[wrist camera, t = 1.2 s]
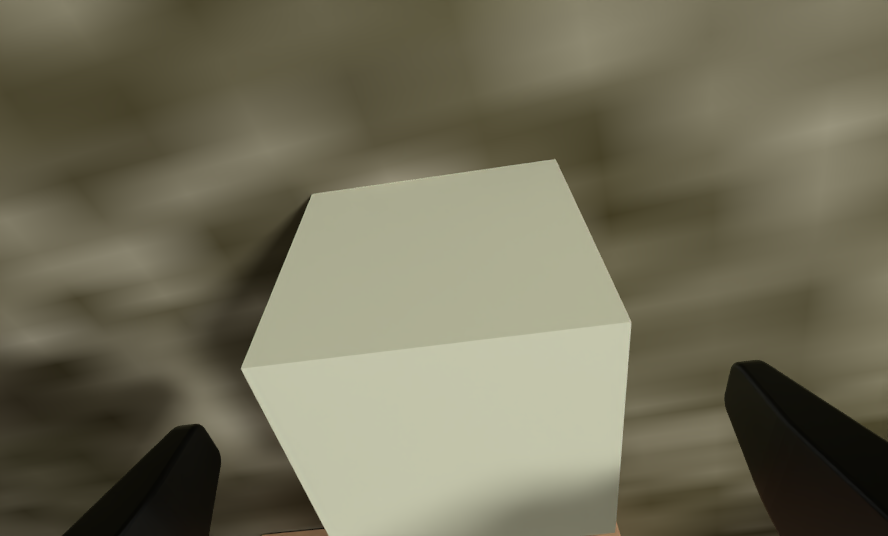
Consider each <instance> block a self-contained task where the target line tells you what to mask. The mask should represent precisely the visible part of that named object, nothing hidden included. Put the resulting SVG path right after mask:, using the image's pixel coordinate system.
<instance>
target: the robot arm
mask: <svg viewBox="0 0 888 536" xmlns="http://www.w3.org/2000/svg"><path fill="white" fill-rule="evenodd" d="M724 401H725V407H726V410H727V413H728V415H729V418H730V421H731V423H732V426H733V428H734V431H735V434H736V436H737V439H738V441H739V444H740V447H741V449H742V452H743V454H744V457H745V460H746V462H747V465H748V467H749V470H750V473H751V475H752V478H753V480H754V483H755V485H756V488H757V490H758V493H759V495H760V497H761V500H762V502H763V504H764V506H765V508H766V510H767V512H768V514H769V516H770V518H771V520H772V522H773V524H774V526H775V528H776V530H777V532H778V534H779V536H888V442H887V441H886V440H884V439H883V438H881V437H880V436H878V435H876V434H875V433H873V432H872V431H870V430H869V429H867V428H866V427H864V426H863V425H861V424H860V423H858V422H856V421H855V420H853V419H852V418H850V417H849V416H847V415H846V414H844V413H843V412H841V411H839V410H838V409H836V408H835V407H833V406H832V405H830V404H829V403H827V402H826V401H824V400H823V399H821V398H819V397H818V396H816V395H815V394H813V393H812V392H810V391H809V390H807V389H806V388H804V387H803V386H801V385H799V384H798V383H796V382H795V381H793V380H792V379H790V378H789V377H787V376H786V375H784V374H782V373H781V372H779V371H778V370H776V369H775V368H773V367H772V366H770V365H769V364H767V363H765V362H763V361H760V360H751V361H743V362H736V363H734V364H733V366H732V367H731V370H730V374H729V379H728V383H727V387H726V391H725V397H724ZM220 467H221V456H220V453H219V450H218V448H217V447H216V445H215V444H214V442H213V441H212V439H211V438H210V436H209V434H208V433H207V431H206V430H205V428H204V427H203V426H202V425H200V424H190V425H182V426H178V427H175V428H174V429H172V430H171V431H170V432H169V433H168V434H167V435H166V436H165V437H164V438H163V439H162V440H161V441H160V442H159V443H158V444H157V445H156V446H155V447H154V448H153V449H151V450H150V451H149V452H148V453H147V454H146V455H145V456H144V457H143V458H142V459H141V460H140V461H139V462H138V463H137V464H136V465H135V466H134V467H133V468H132V469H131V470H130V471H129V472H128V473H127V474H126V475H125V476H124V477H122V478H121V479H120V480H119V481H118V482H117V483H116V484H115V485H114V486H113V487H112V488H111V489H110V490H109V491H108V492H107V493H106V494H105V495H104V496H103V497H102V498H101V499H100V500H99V501H98V502H97V503H96V504H95V505H93V506H92V507H91V508H90V509H89V510H88V511H87V512H86V513H85V514H84V515H83V516H82V517H81V518H80V519H79V520H78V521H77V522H76V523H75V524H74V525H73V526H72V527H71V528H70V529H69V530H68V531H67V532H66V533H64V534H63V535H62V536H209V531H210V525H211V519H212V514H213V508H214V502H215V496H216V490H217V484H218V478H219V473H220Z"/></svg>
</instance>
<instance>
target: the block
mask: <svg viewBox="0 0 888 536" xmlns="http://www.w3.org/2000/svg"><path fill="white" fill-rule="evenodd" d="M630 332H631V320H630V318H629V316H628V314H627V312H626V309H625V307H624V305H623V303H622V301H621V299H620V297H619V294H618V292H617V290H616V288H615V286H614V284H613V282H612V279H611V277H610V275H609V273H608V271H607V269H606V267H605V264H604V262H603V260H602V258H601V256H600V254H599V252H598V249H597V247H596V245H595V243H594V241H593V239H592V236H591V234H590V232H589V230H588V228H587V226H586V224H585V221H584V219H583V217H582V215H581V213H580V211H579V209H578V206H577V204H576V202H575V200H574V198H573V196H572V194H571V191H570V189H569V187H568V185H567V183H566V181H565V179H564V176H563V174H562V172H561V170H560V168H559V166H558V164H557V161H556V159H553V160H546V161H539V162H533V163H526V164H519V165H512V166H505V167H498V168H491V169H484V170H477V171H470V172H463V173H456V174H449V175H442V176H435V177H428V178H421V179H414V180H407V181H400V182H393V183H386V184H379V185H372V186H365V187H358V188H351V189H345V190H338V191H331V192H324V193H317V194H312V195H311V198H310V200H309V203H308V205H307V208H306V210H305V213H304V215H303V217H302V220H301V222H300V225H299V227H298V230H297V232H296V235H295V237H294V240H293V242H292V244H291V247H290V249H289V252H288V254H287V257H286V259H285V262H284V264H283V266H282V269H281V271H280V274H279V276H278V279H277V281H276V284H275V286H274V289H273V291H272V293H271V296H270V298H269V301H268V303H267V306H266V308H265V311H264V313H263V315H262V318H261V320H260V323H259V325H258V328H257V330H256V333H255V335H254V337H253V340H252V342H251V345H250V347H249V350H248V352H247V355H246V357H245V360H244V362H243V364H242V367H241V370H242V372H243V374H244V376H245V378H246V380H247V382H248V383H249V385H250V387H251V389H252V391H253V393H254V395H255V397H256V399H257V401H258V402H259V404H260V406H261V408H262V410H263V412H264V414H265V416H266V418H267V420H268V421H269V423H270V425H271V427H272V429H273V431H274V433H275V435H276V437H277V439H278V441H279V442H280V444H281V446H282V448H283V450H284V452H285V454H286V456H287V458H288V460H289V461H290V463H291V465H292V467H293V469H294V471H295V473H296V475H297V477H298V479H299V480H300V482H301V484H302V486H303V488H304V490H305V492H306V494H307V496H308V498H309V499H310V501H311V503H312V505H313V507H314V509H315V511H316V513H317V515H318V517H319V519H320V520H321V522H322V524H323V526H324V528H325V530H326V532H327V534H328V536H587V535H597V534H608V533H615V529H616V516H617V502H618V489H619V476H620V463H621V450H622V437H623V424H624V411H625V398H626V384H627V371H628V358H629V345H630Z"/></svg>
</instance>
